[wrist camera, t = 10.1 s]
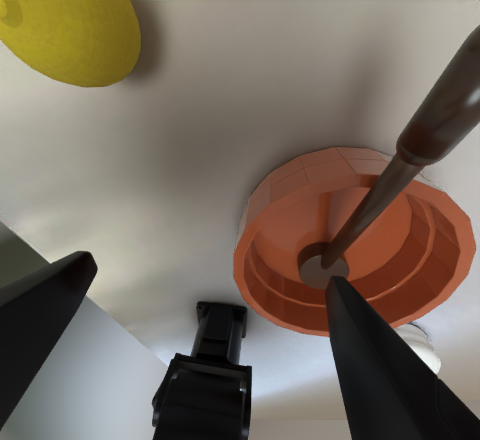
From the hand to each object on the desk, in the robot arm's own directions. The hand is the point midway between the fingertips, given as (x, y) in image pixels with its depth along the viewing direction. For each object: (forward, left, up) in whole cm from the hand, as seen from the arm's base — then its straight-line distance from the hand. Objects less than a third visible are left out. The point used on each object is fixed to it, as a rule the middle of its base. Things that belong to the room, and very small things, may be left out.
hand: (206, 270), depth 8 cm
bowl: (-6, -8, -12) cm, 16 cm away
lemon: (+8, +8, -12) cm, 17 cm away
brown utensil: (-2, -8, -11) cm, 14 cm away
